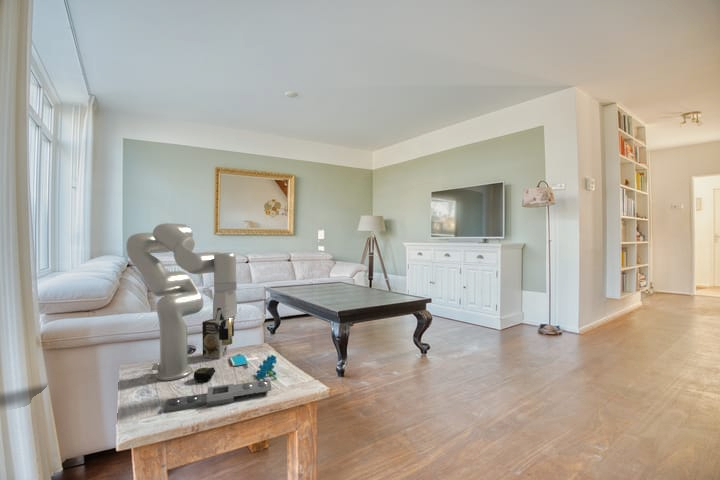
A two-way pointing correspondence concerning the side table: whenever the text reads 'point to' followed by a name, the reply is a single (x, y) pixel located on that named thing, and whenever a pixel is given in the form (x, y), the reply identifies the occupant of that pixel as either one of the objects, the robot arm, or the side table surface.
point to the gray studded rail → (218, 395)
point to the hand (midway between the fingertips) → (226, 337)
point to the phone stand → (241, 360)
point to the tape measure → (203, 374)
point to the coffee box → (212, 340)
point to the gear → (267, 368)
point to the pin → (229, 325)
